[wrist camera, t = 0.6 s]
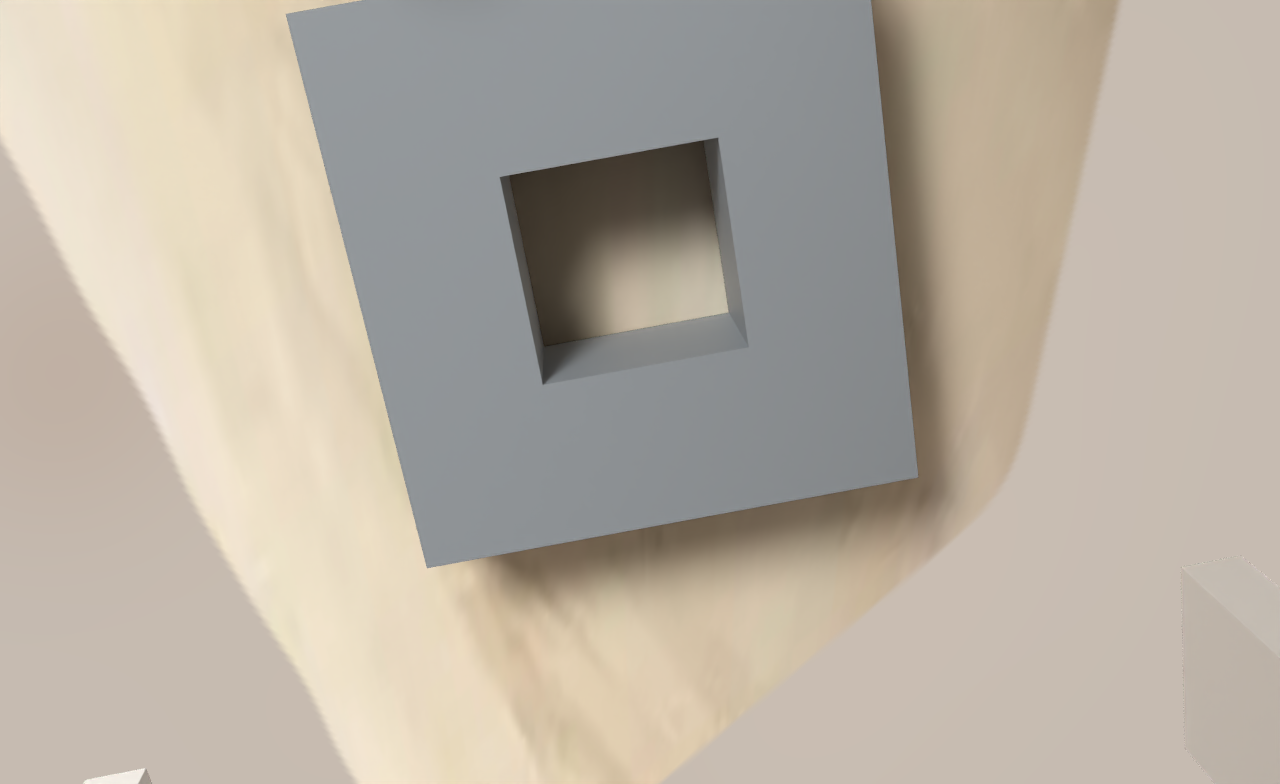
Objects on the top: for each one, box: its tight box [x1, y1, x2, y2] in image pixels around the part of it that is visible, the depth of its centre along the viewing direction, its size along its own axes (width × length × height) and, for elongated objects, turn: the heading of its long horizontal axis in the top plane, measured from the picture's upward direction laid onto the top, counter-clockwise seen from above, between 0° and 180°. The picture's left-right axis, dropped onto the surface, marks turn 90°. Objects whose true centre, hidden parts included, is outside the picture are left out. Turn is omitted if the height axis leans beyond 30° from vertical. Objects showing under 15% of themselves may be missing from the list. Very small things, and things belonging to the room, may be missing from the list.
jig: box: [286, 0, 918, 568], centre depth 34 cm, size 16×15×4 cm
